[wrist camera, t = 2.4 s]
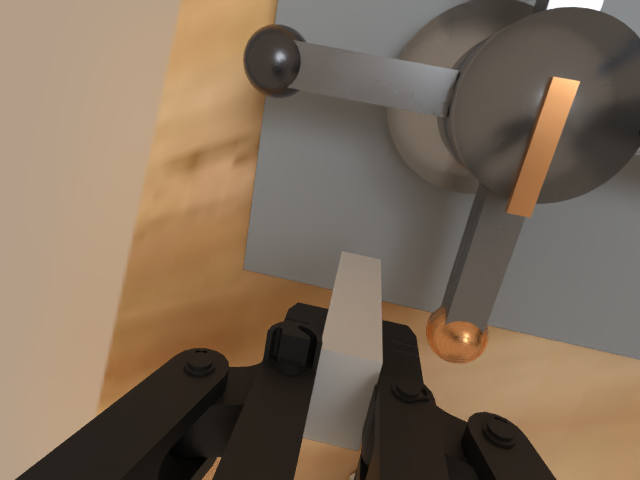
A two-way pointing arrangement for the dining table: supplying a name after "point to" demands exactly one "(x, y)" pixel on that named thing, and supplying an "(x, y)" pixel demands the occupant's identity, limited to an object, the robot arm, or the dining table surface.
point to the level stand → (430, 200)
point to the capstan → (485, 122)
